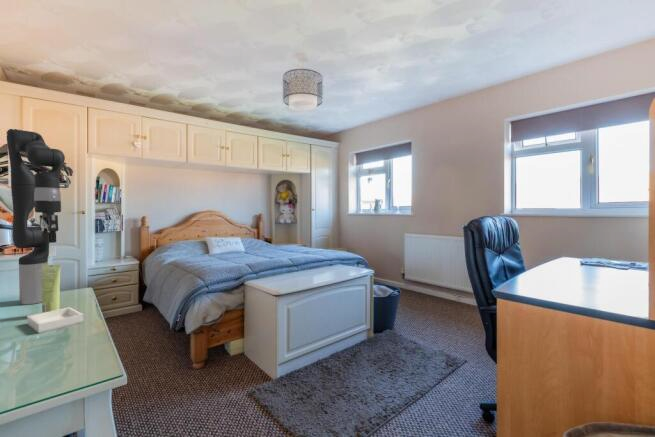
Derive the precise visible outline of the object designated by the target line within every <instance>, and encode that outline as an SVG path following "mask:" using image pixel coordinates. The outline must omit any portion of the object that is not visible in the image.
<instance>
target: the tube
mask: <svg viewBox="0 0 655 437" xmlns="http://www.w3.org/2000/svg"><path fill="white" fill-rule="evenodd" d="M60 286H61V264H48V265H42V302H41V303H42V304H41V306H42V310H41V313H44V312H49V311H54V310H59V309H61V308H60V307H61V306H60V303H61V302H60V297H61V296H60V291H61V290H60V288H61V287H60Z"/></svg>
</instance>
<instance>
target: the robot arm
mask: <svg viewBox="0 0 655 437" xmlns="http://www.w3.org/2000/svg"><path fill="white" fill-rule="evenodd" d="M6 144H7V150H8V157H9V158H8V159H9V165H10V166H9V167H10V190H11V192H10V193H11V200H12V218H13V219H12V232H11V233H12V234H11V235H12V236H11V237H12V242H13V245H14V246H15V247H16V249H32V248H33V249H32V250H31V252H28V253H27V254H25V255H23V256H20V257H19V259H18V280H19V281H18V289H19V305H34V304H40V303H42V265H49V262H48V261H49V260H48V259H49V256H50V244H52V243H53V244H54V243H57V233H58V231H59V216H58V215H57V214H55V213H61V212H62V198H61V197H62V196H61V194H62V193H61V189H60V187H61V186H60V176H61V173H62V169H63V166H64V164H65V160H66V158H65V154H64V152H63V151H61V150H60V149H58V148H51V147H49V146H48V145H47V144H46V142H45V140H44V138H43V136H42V135H41V134H40V133H39V132H36V131H29V130H23V129H12V128H10V129H8V130H7V132H6ZM20 152H21V153H26V154H27V155H26V156H27V161H28V163H30V164H31V165H33V166H37V167H48V168H49V167H50V168H51V169H50V171H42V172H41V171H40V172H35V173H34V172H33V171H32V170H31V169H30V168H29V167H28V166H27V164H26V163H25V162H24V160H23V158H22V156H21V153H20ZM33 209H34V212H35V213H42V214H41V215H39V216H38V217H39V226H28V220H29V217H30V214H31V213H32V211H33Z"/></svg>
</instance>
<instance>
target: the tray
mask: <svg viewBox="0 0 655 437" xmlns="http://www.w3.org/2000/svg"><path fill="white" fill-rule="evenodd" d="M84 319H85V318H84V313H82V312H80V311H78V310H76V309H74V308H72V307H69V306H68V307H65V308H60V309H59V310H54V311H49V312H44V313H42V312H40V313H34V314H31V315H26V320H27V321H26V322H27V323H26V324H27V325H28V326H29V327H30V328H31V329H33V330H34V331H35V332H37V333H38V334H41V333H42V334H43V333H48V332H51V331H55V330H58V329H63V328H67V327H71V326H75V325H78V324H79V325H80V324H83V323H84V322H85V321H84Z"/></svg>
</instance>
